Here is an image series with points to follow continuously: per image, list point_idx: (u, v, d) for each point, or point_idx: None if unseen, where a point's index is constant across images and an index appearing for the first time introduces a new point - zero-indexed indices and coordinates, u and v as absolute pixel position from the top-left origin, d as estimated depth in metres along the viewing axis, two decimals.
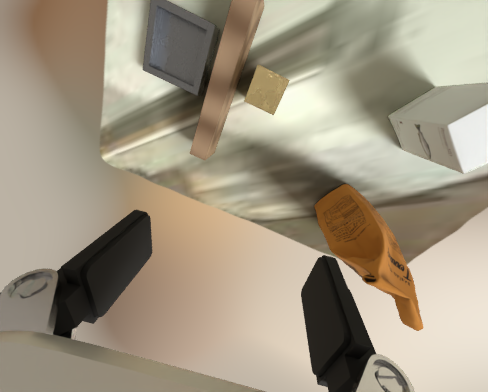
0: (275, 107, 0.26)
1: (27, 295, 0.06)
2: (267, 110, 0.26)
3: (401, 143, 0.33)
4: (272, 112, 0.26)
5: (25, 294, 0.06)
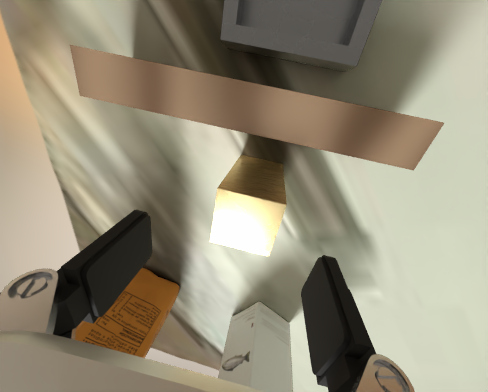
0: (223, 242, 0.14)
1: (27, 295, 0.06)
2: (214, 231, 0.13)
3: (236, 317, 0.31)
4: (213, 239, 0.14)
5: (25, 294, 0.06)
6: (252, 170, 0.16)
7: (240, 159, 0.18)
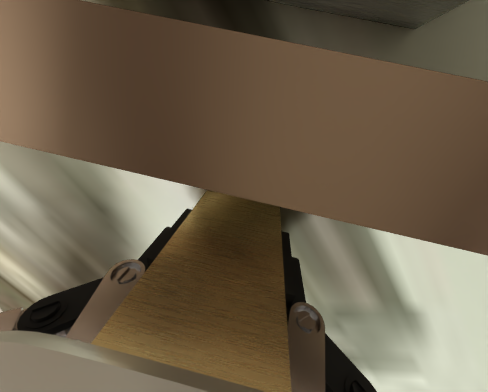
0: None
1: (121, 281, 0.06)
2: None
3: None
4: None
5: (120, 280, 0.06)
6: (216, 241, 0.08)
7: (202, 203, 0.10)
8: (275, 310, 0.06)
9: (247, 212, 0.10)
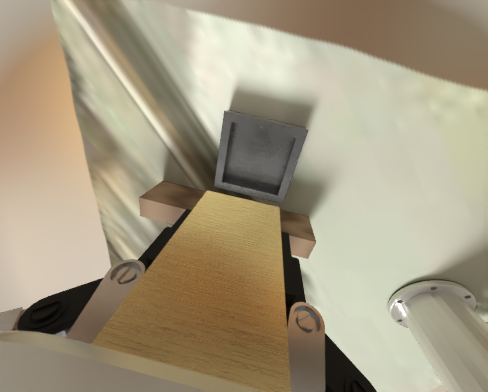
0: None
1: (121, 281, 0.06)
2: None
3: None
4: None
5: (120, 280, 0.06)
6: (216, 241, 0.08)
7: (202, 203, 0.10)
8: (275, 310, 0.06)
9: (247, 212, 0.10)
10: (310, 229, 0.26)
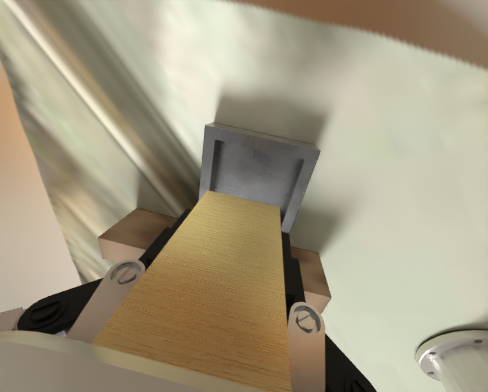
0: None
1: (121, 281, 0.06)
2: None
3: None
4: None
5: (120, 280, 0.06)
6: (216, 241, 0.08)
7: (202, 203, 0.10)
8: (275, 310, 0.06)
9: (247, 212, 0.10)
10: (322, 275, 0.20)
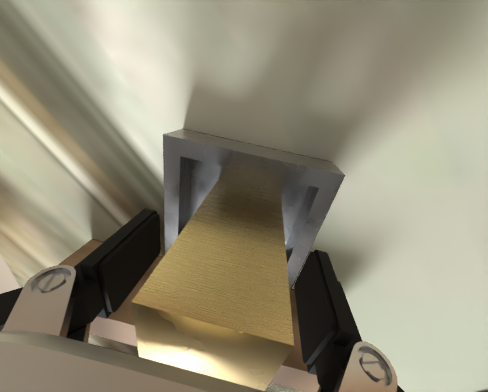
0: None
1: (47, 290, 0.06)
2: None
3: None
4: None
5: (45, 289, 0.06)
6: (230, 218, 0.09)
7: (215, 190, 0.12)
8: (279, 265, 0.07)
9: (253, 198, 0.12)
10: None
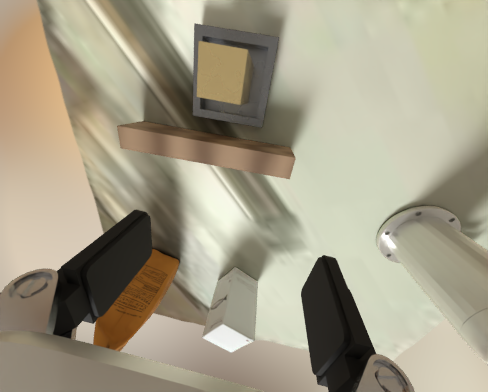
0: (206, 96, 0.19)
1: (27, 295, 0.06)
2: (199, 85, 0.18)
3: (220, 280, 0.45)
4: (199, 94, 0.19)
5: (25, 294, 0.06)
6: None
7: None
8: None
9: None
10: (291, 152, 0.26)
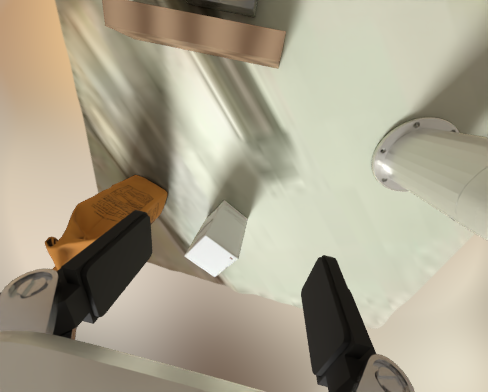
0: None
1: (27, 295, 0.06)
2: None
3: (209, 216, 0.43)
4: None
5: (25, 294, 0.06)
6: None
7: None
8: None
9: None
10: None
